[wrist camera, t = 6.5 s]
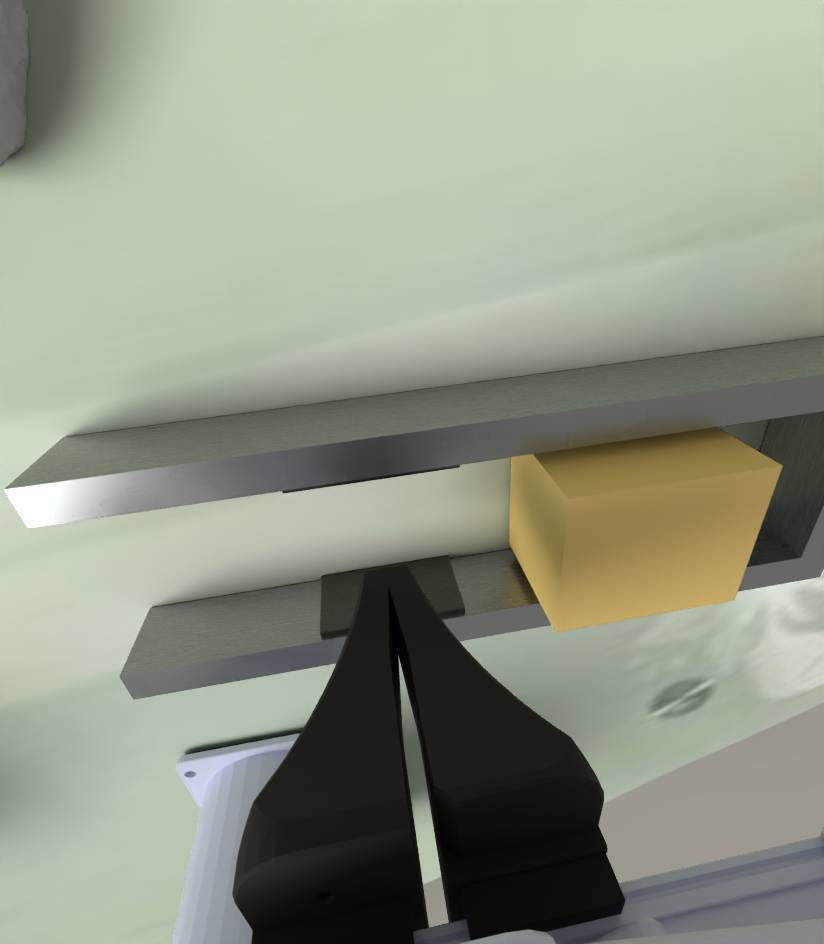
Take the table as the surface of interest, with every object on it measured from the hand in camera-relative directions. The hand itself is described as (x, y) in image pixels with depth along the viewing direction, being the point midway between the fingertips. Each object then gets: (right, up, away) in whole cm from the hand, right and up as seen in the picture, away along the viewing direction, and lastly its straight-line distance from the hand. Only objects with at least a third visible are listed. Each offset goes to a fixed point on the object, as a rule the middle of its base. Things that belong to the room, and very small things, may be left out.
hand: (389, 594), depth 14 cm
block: (+7, +3, +4) cm, 9 cm away
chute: (+2, +3, +4) cm, 5 cm away
